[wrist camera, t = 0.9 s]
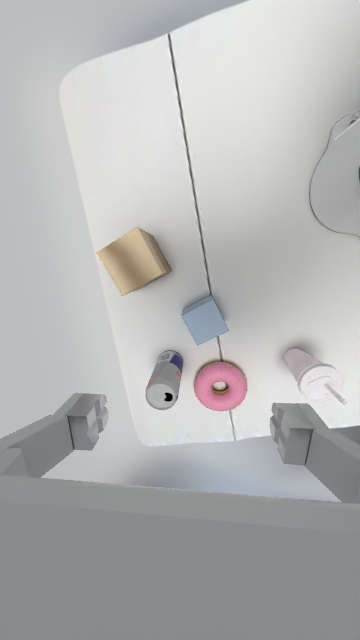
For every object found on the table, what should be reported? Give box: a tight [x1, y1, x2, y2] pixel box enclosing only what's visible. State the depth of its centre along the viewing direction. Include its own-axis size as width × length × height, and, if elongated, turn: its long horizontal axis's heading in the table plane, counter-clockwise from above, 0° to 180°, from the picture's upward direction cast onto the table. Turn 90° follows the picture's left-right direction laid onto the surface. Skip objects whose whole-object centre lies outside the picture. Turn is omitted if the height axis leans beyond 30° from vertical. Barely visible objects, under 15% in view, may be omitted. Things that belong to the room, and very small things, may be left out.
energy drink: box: [146, 351, 183, 410], centre depth 38 cm, size 5×5×12 cm
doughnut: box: [194, 362, 247, 411], centre depth 42 cm, size 11×11×4 cm
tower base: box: [134, 232, 172, 291], centre depth 36 cm, size 7×7×5 cm
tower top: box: [97, 227, 167, 296], centre depth 31 cm, size 7×7×5 cm
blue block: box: [181, 295, 229, 345], centre depth 37 cm, size 6×6×6 cm
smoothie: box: [284, 348, 347, 405], centre depth 34 cm, size 6×6×14 cm
